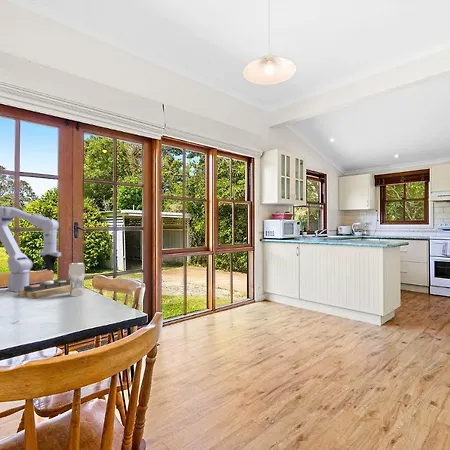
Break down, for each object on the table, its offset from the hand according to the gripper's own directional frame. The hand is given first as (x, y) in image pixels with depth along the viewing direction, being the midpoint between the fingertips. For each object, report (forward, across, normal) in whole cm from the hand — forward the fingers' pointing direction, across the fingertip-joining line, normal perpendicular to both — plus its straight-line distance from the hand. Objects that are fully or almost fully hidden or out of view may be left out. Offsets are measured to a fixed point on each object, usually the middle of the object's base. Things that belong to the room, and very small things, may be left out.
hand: (49, 270), depth 156 cm
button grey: (+7, -4, +3) cm, 8 cm away
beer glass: (+11, -20, 0) cm, 23 cm away
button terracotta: (+8, -4, +10) cm, 13 cm away
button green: (+8, -4, -4) cm, 9 cm away
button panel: (+10, -4, +3) cm, 11 cm away
